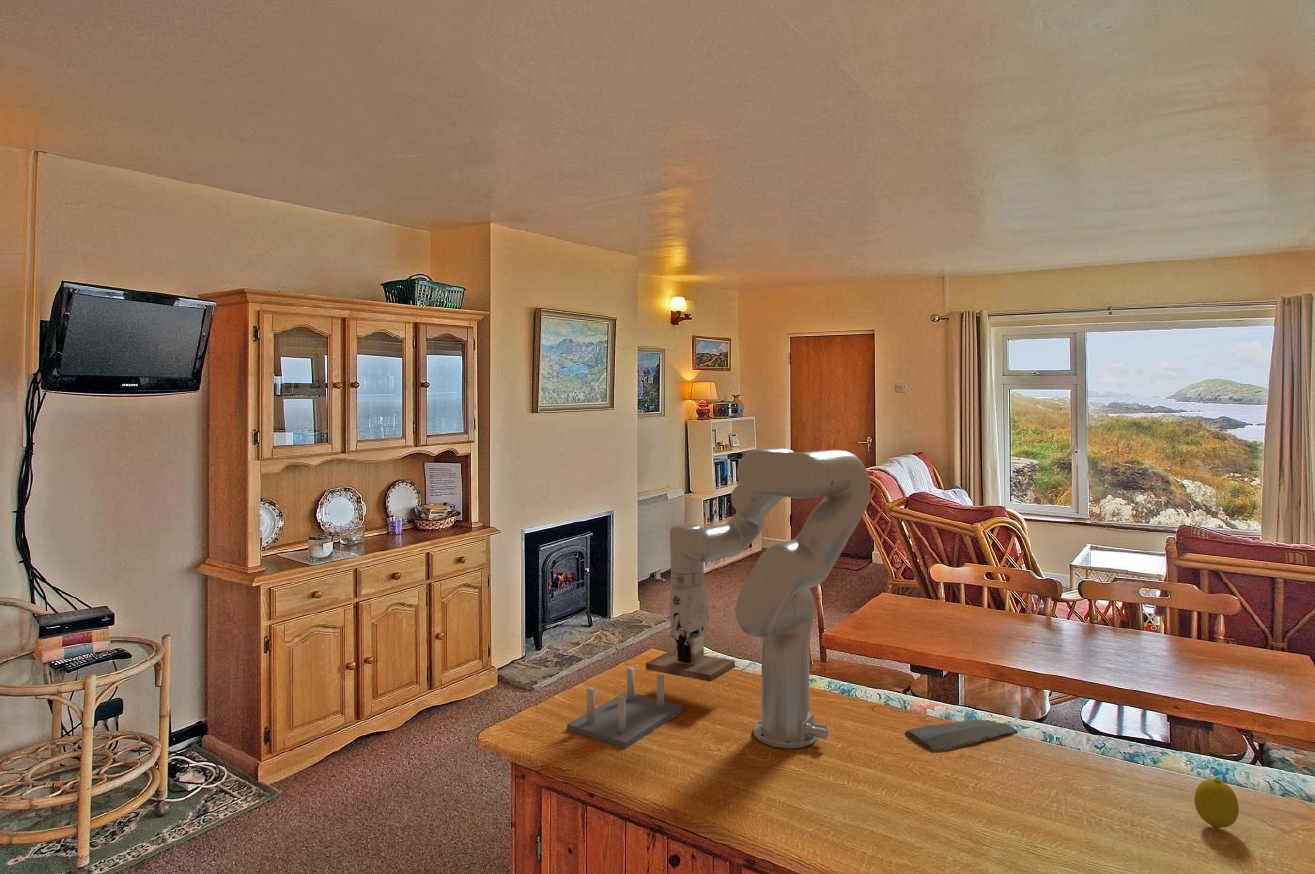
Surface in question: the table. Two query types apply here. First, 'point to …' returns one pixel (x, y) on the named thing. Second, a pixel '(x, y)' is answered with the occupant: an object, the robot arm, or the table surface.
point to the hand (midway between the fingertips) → (689, 657)
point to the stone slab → (957, 734)
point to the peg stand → (625, 715)
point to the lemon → (1216, 803)
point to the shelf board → (691, 671)
